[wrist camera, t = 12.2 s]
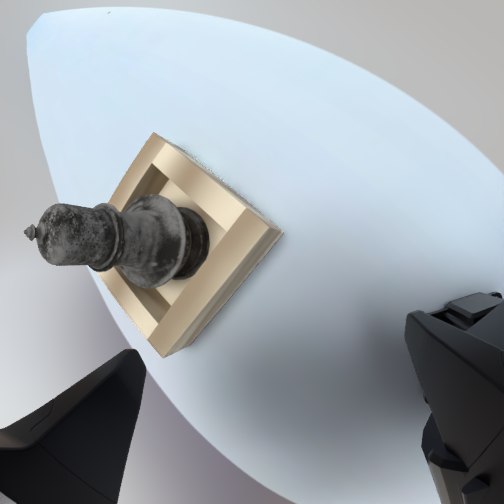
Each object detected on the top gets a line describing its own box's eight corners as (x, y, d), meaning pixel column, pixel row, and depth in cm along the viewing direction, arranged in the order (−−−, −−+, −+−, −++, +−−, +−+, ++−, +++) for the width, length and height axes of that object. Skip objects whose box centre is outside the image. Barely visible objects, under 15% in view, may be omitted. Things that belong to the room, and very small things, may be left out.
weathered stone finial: (142, 216, 21) (4, 193, 10) (204, 192, 19) (58, 134, 8) (154, 290, 21) (10, 310, 9) (221, 275, 19) (63, 294, 7)
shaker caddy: (283, 232, 18) (269, 227, 15) (189, 345, 20) (162, 358, 17) (179, 147, 21) (153, 132, 18) (112, 251, 23) (83, 250, 20)
